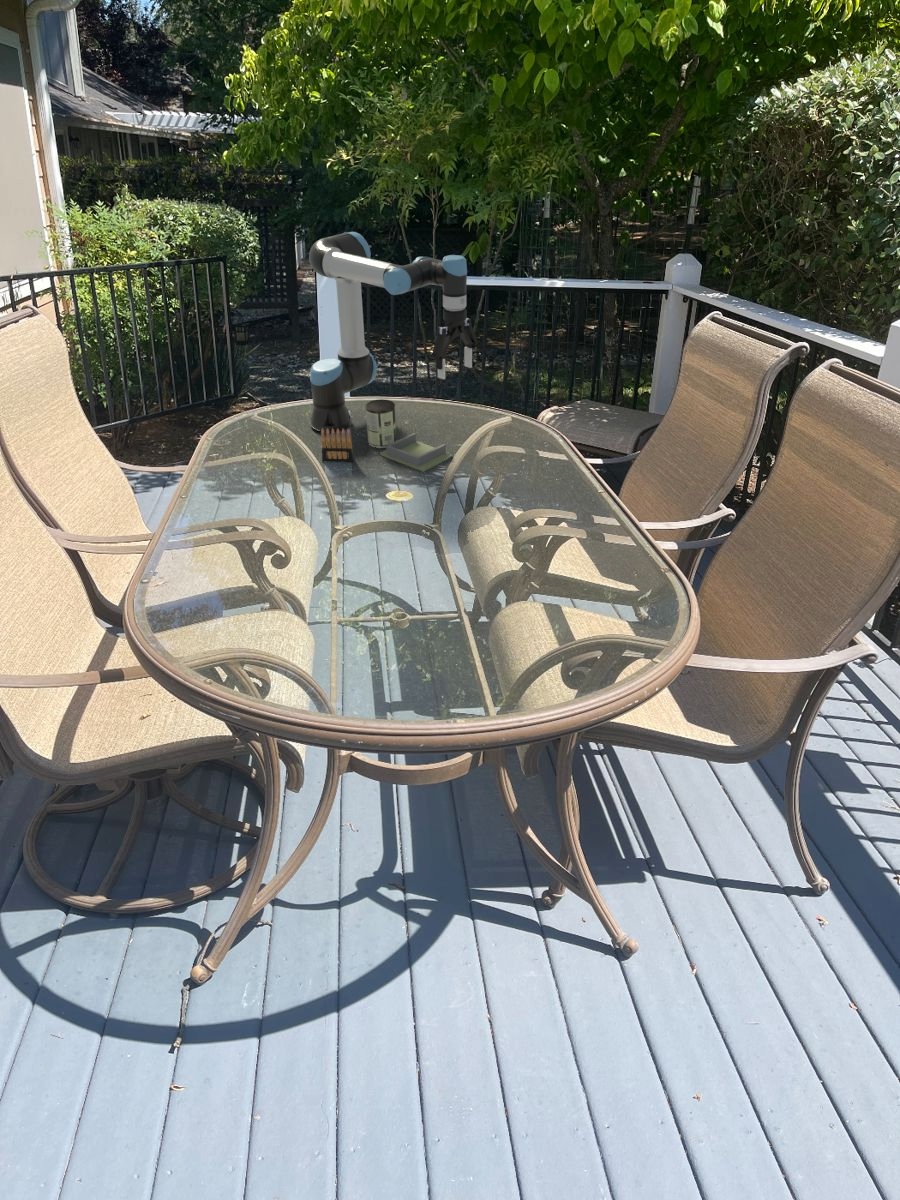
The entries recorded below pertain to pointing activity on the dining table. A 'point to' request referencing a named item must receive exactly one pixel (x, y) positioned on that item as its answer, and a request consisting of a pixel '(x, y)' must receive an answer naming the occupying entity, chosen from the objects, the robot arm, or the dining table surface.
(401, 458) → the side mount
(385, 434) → the coffee can
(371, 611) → the dining table surface
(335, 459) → the ammunition clip
